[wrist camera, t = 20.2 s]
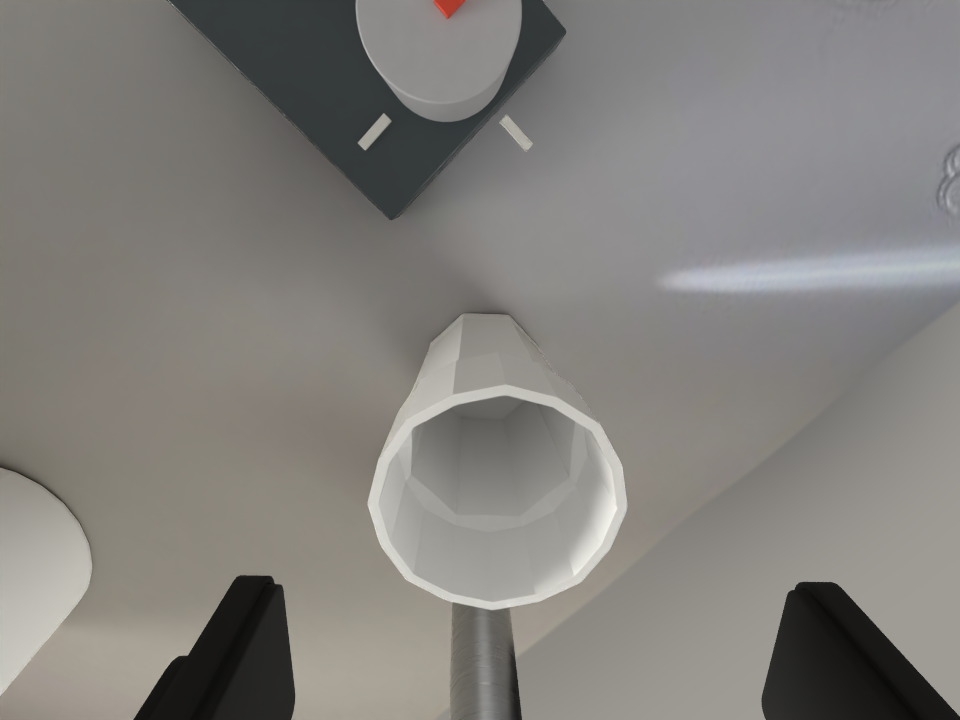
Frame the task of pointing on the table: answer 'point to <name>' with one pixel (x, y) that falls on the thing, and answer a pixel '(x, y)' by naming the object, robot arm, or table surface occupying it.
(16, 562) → the mug
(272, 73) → the dial base plate
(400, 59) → the tap knob
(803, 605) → the robot arm
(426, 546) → the cup
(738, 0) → the table surface
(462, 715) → the faucet
